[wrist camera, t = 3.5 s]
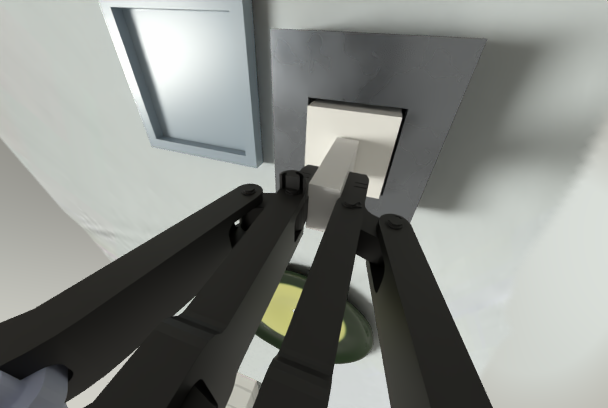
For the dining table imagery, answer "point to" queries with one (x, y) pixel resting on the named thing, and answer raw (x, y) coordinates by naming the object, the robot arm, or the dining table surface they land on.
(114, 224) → the dining table surface
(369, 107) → the button
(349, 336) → the plate
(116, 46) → the tray
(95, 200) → the dining table surface
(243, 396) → the pizza boxes
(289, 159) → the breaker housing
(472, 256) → the dining table surface
